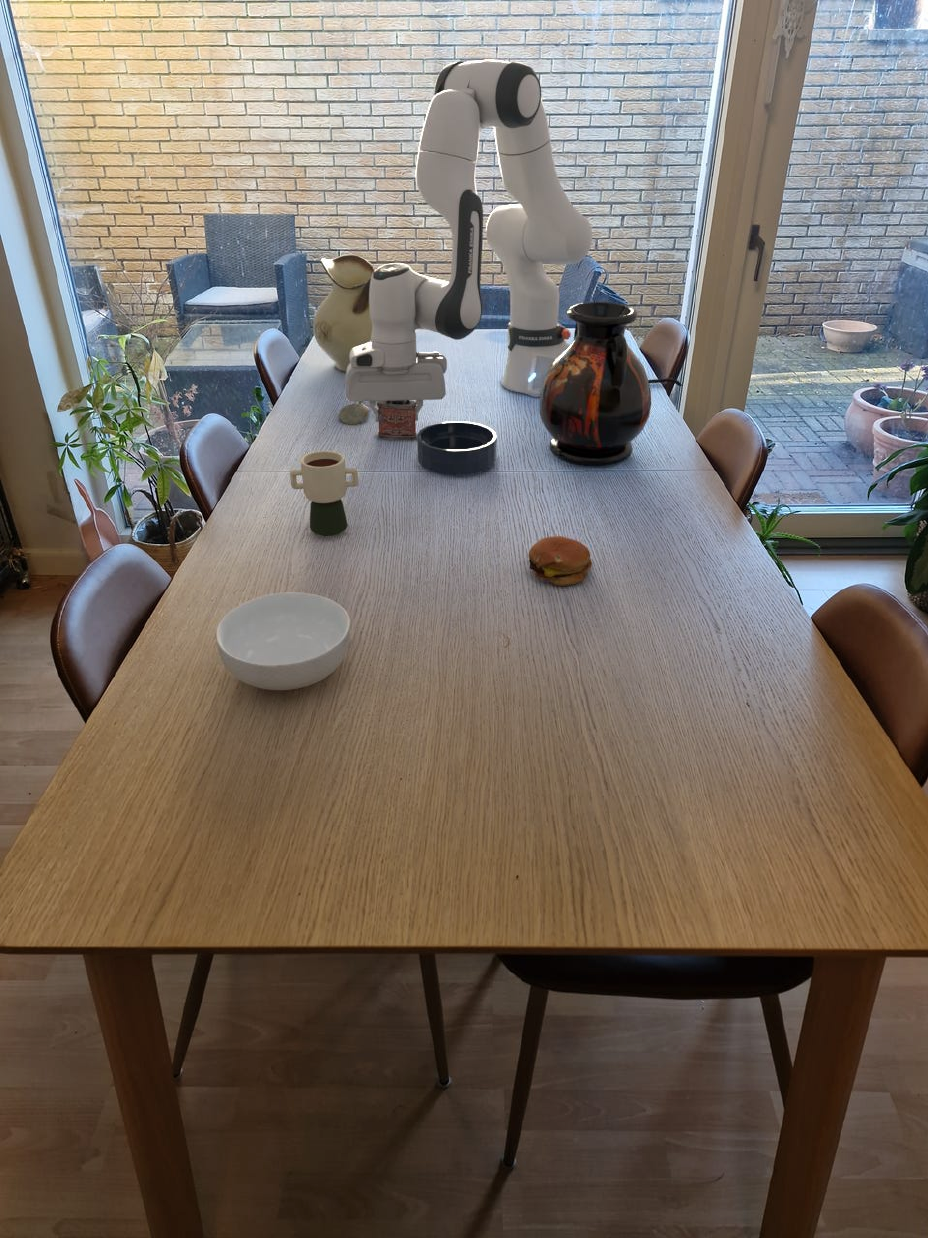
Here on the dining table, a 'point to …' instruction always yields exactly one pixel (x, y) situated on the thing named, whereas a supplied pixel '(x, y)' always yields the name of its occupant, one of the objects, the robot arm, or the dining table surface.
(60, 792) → the dining table surface
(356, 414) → the soupspoon
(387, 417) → the lighter
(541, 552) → the burger
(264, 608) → the cereal bowl
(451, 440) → the bowl
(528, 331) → the robot arm
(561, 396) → the amphora vase
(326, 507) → the character mug
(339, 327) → the pitcher
